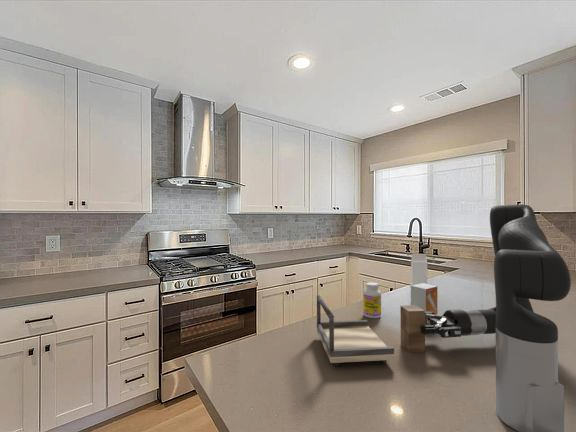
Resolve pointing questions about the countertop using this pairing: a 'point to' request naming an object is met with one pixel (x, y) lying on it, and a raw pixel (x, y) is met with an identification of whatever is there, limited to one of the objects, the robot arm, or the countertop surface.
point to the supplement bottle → (372, 300)
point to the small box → (424, 297)
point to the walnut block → (412, 328)
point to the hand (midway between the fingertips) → (413, 324)
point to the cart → (350, 339)
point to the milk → (418, 269)
